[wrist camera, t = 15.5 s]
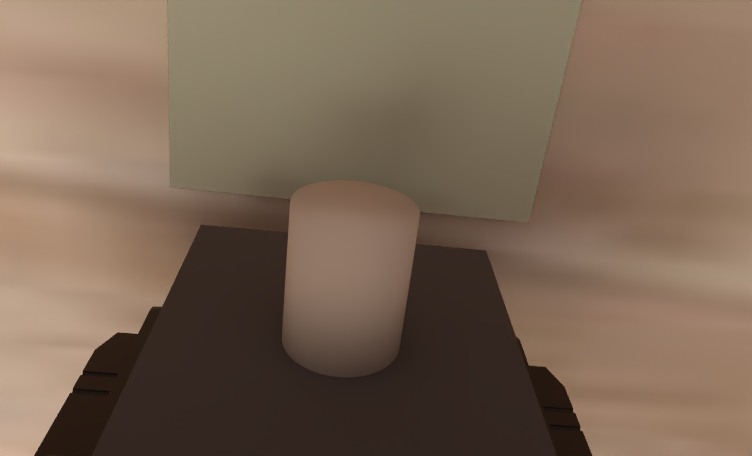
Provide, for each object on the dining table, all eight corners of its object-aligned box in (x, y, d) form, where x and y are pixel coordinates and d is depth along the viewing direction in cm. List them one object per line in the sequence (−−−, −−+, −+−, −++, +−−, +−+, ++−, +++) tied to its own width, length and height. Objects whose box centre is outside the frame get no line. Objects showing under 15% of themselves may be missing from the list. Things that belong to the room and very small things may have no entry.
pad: (527, 220, 16) (529, 223, 15) (171, 184, 15) (170, 187, 15) (609, -123, 13) (612, -123, 12) (166, -183, 12) (164, -184, 12)
